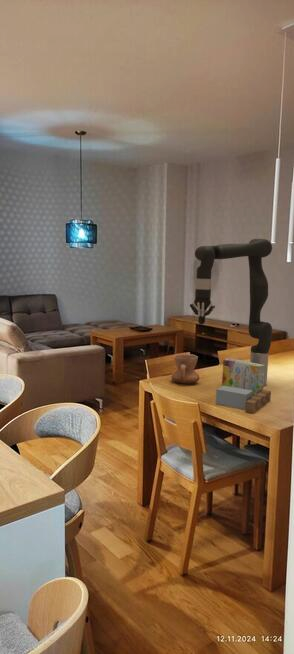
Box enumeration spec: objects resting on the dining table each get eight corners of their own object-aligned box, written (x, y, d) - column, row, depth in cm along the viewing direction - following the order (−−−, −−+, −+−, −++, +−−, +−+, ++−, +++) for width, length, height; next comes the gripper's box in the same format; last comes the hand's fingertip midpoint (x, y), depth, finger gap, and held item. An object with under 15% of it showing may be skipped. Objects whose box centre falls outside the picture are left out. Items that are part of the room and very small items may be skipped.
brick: (222, 400, 220) (223, 385, 219) (251, 405, 213) (252, 390, 212) (215, 404, 213) (216, 389, 212) (245, 410, 206) (246, 394, 205)
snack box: (263, 395, 230) (265, 364, 228) (256, 397, 226) (259, 366, 224) (227, 385, 245) (229, 357, 243) (220, 387, 241) (222, 358, 239)
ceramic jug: (175, 377, 259) (176, 351, 257) (202, 379, 255) (202, 353, 252) (167, 386, 242) (167, 358, 240) (195, 388, 238) (196, 361, 236)
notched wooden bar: (262, 399, 223) (263, 389, 222) (270, 400, 221) (270, 391, 220) (245, 412, 202) (245, 402, 202) (252, 413, 201) (253, 403, 200)
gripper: (219, 288, 227) (217, 324, 229) (194, 287, 234) (192, 322, 236) (212, 289, 221) (210, 326, 223) (187, 287, 228) (185, 323, 230)
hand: (201, 324), depth 230 cm, fingers closed
